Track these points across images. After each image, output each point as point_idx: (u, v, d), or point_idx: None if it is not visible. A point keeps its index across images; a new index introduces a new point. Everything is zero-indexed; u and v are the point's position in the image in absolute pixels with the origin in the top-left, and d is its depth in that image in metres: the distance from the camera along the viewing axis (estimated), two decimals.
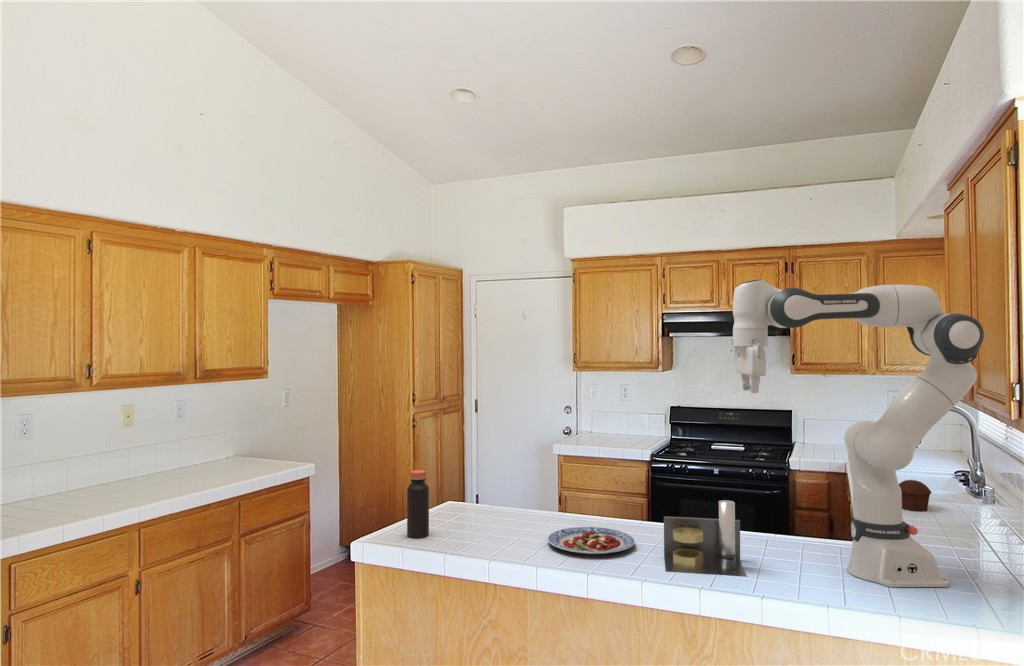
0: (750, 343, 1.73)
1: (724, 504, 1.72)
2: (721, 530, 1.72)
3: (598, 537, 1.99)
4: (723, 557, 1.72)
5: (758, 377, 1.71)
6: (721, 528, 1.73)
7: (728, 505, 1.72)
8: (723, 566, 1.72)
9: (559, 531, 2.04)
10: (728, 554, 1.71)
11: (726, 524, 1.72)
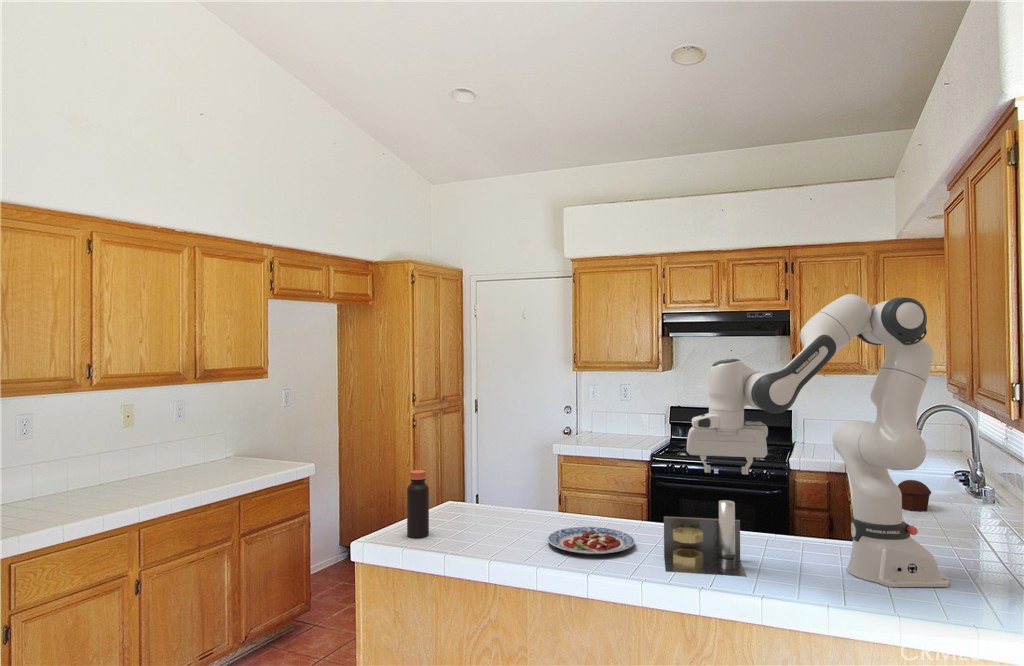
0: (743, 424, 1.72)
1: (724, 504, 1.72)
2: (721, 530, 1.72)
3: (598, 537, 1.99)
4: (723, 557, 1.72)
5: None
6: (721, 528, 1.72)
7: (728, 505, 1.71)
8: (723, 566, 1.72)
9: (559, 531, 2.04)
10: (728, 554, 1.71)
11: (726, 524, 1.72)
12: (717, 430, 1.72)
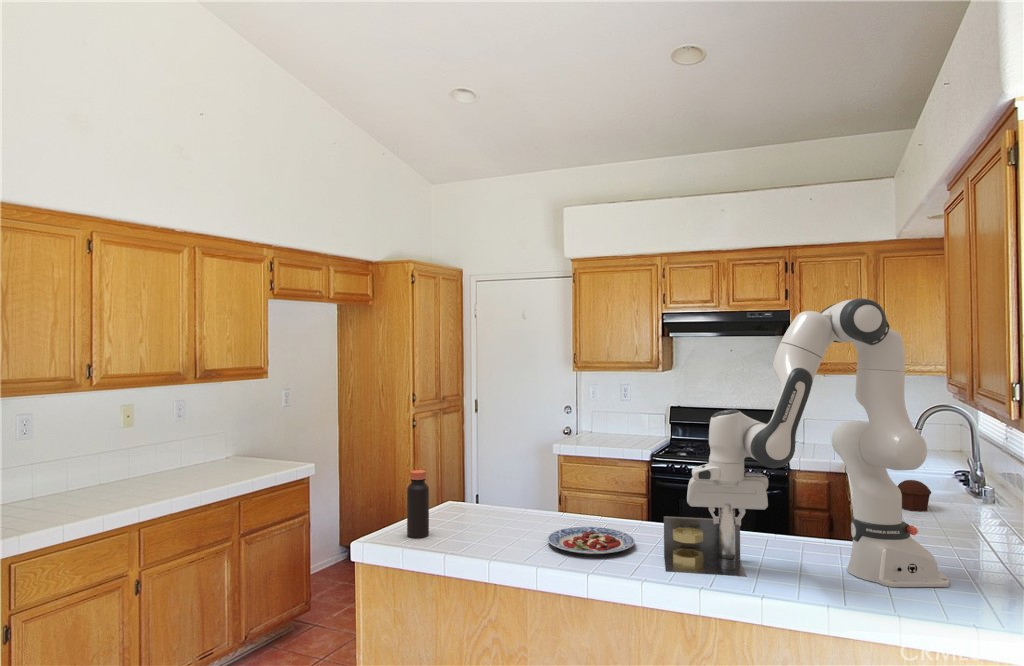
0: (743, 476, 1.72)
1: (724, 504, 1.72)
2: (721, 530, 1.72)
3: (598, 537, 1.99)
4: (723, 557, 1.72)
5: None
6: (721, 528, 1.73)
7: (728, 505, 1.71)
8: (723, 566, 1.72)
9: (559, 531, 2.04)
10: (728, 554, 1.71)
11: (726, 524, 1.72)
12: (717, 482, 1.72)
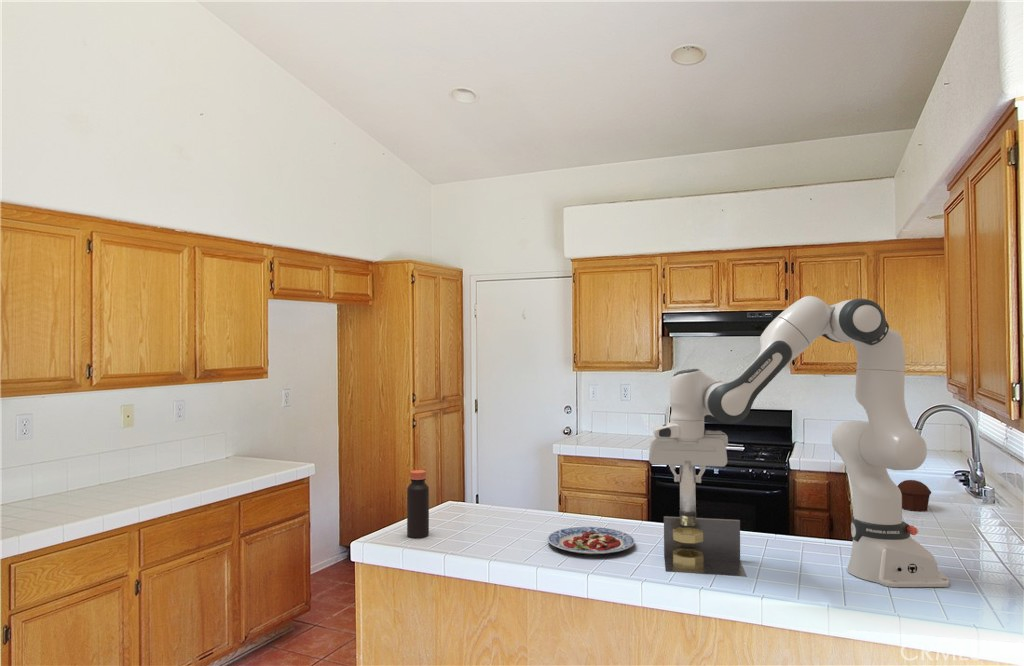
0: None
1: (684, 461, 1.74)
2: (682, 487, 1.74)
3: (598, 537, 1.99)
4: (684, 514, 1.74)
5: None
6: (681, 485, 1.75)
7: (688, 462, 1.74)
8: (683, 523, 1.74)
9: (559, 531, 2.04)
10: (688, 511, 1.73)
11: (686, 481, 1.74)
12: (678, 439, 1.74)
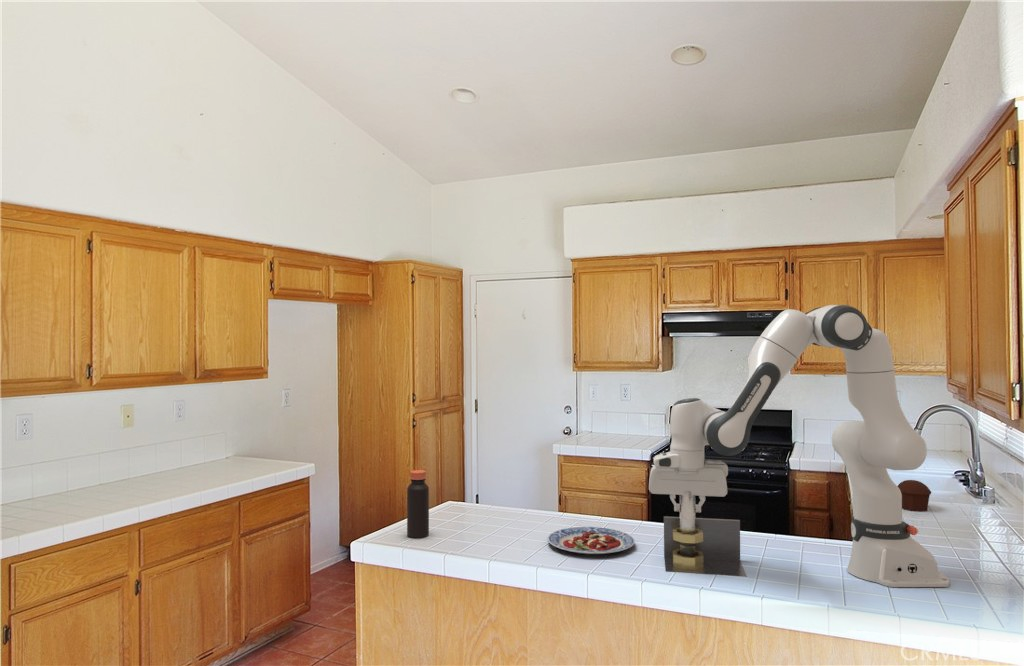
0: (704, 463, 1.74)
1: (684, 491, 1.74)
2: (681, 517, 1.74)
3: (598, 537, 1.99)
4: (683, 543, 1.74)
5: None
6: (681, 515, 1.74)
7: (688, 492, 1.73)
8: (683, 552, 1.74)
9: (559, 531, 2.04)
10: None
11: (686, 511, 1.73)
12: (678, 469, 1.74)
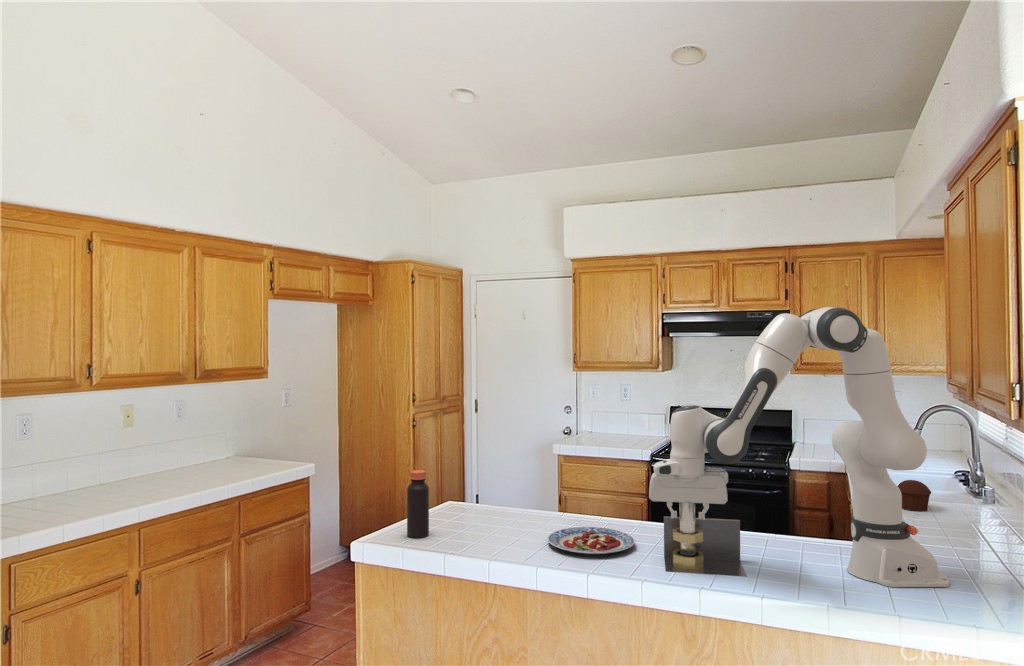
0: None
1: (684, 502, 1.74)
2: (681, 528, 1.74)
3: (598, 537, 1.99)
4: (684, 555, 1.74)
5: None
6: (681, 526, 1.74)
7: (688, 503, 1.73)
8: None
9: (559, 531, 2.04)
10: (688, 552, 1.73)
11: (686, 522, 1.73)
12: (678, 477, 1.74)
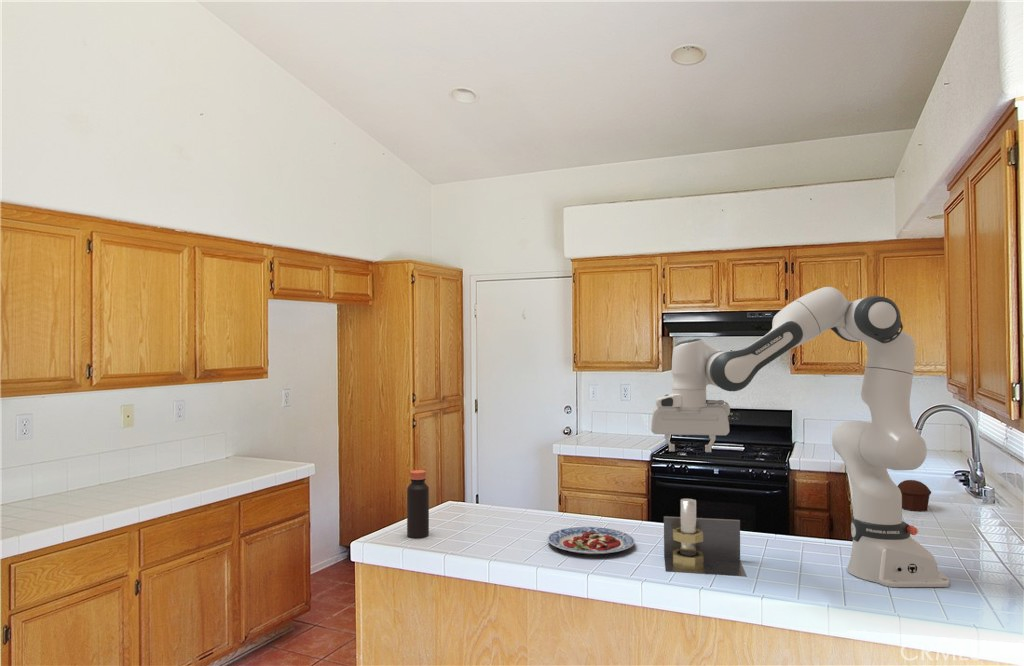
0: (706, 403, 1.75)
1: (685, 502, 1.74)
2: (682, 528, 1.74)
3: (598, 537, 1.99)
4: (684, 554, 1.74)
5: None
6: (682, 526, 1.74)
7: (689, 503, 1.73)
8: None
9: (559, 531, 2.04)
10: (689, 552, 1.73)
11: (687, 522, 1.73)
12: (680, 409, 1.75)
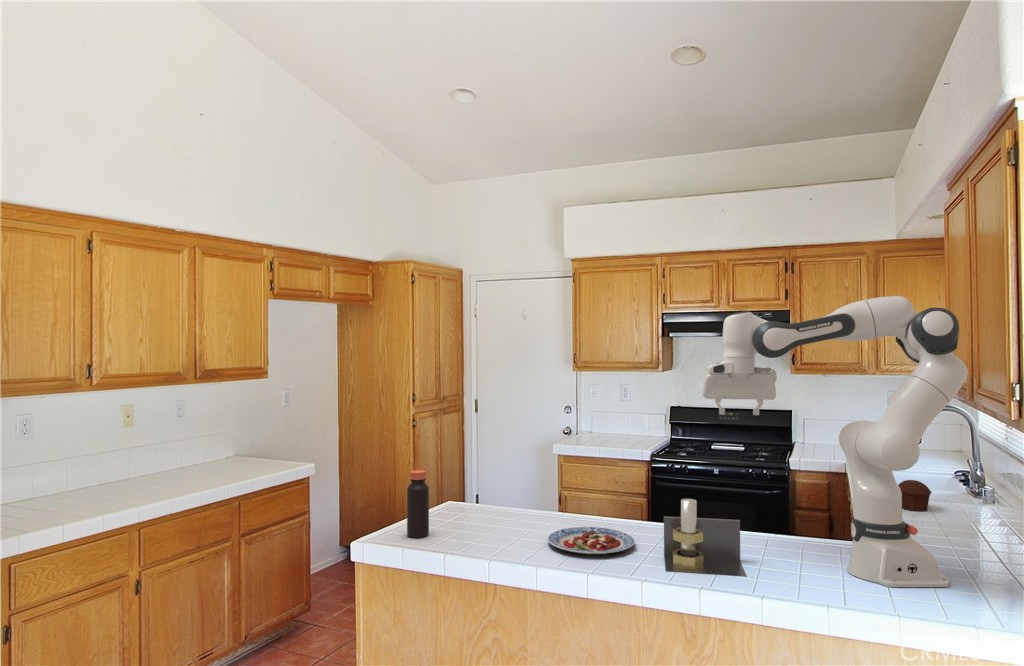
0: (754, 370, 1.91)
1: (686, 503, 1.73)
2: (682, 528, 1.74)
3: (598, 537, 1.99)
4: (684, 555, 1.74)
5: None
6: (682, 526, 1.74)
7: (690, 504, 1.73)
8: None
9: (559, 531, 2.04)
10: (689, 552, 1.73)
11: (687, 522, 1.73)
12: (730, 375, 1.91)
